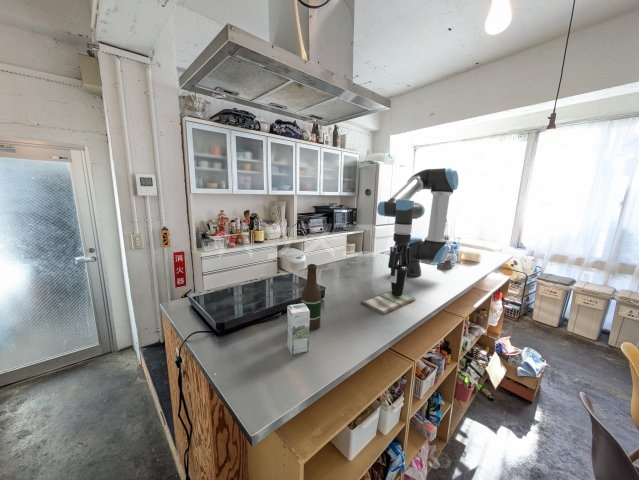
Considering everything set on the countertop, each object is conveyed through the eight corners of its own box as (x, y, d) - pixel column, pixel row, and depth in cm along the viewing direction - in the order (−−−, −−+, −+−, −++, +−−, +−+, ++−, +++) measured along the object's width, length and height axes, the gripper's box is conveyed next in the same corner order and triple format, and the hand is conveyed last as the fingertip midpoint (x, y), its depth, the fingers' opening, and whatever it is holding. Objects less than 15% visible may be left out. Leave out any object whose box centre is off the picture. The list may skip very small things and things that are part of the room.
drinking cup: (401, 299, 116) (405, 257, 112) (386, 294, 121) (389, 254, 116) (407, 293, 122) (410, 253, 118) (392, 289, 126) (395, 251, 122)
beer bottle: (298, 322, 98) (298, 262, 93) (316, 319, 101) (318, 261, 96) (303, 332, 91) (304, 268, 86) (323, 329, 93) (326, 267, 89)
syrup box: (303, 342, 85) (303, 302, 82) (309, 352, 80) (310, 309, 77) (286, 345, 83) (286, 304, 80) (291, 356, 78) (292, 312, 75)
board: (392, 292, 130) (392, 289, 130) (415, 300, 120) (415, 298, 120) (361, 303, 115) (361, 301, 115) (384, 315, 106) (384, 312, 105)
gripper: (407, 230, 125) (403, 274, 129) (382, 233, 112) (378, 282, 117) (421, 232, 119) (416, 278, 123) (396, 236, 106) (392, 287, 111)
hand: (398, 280), depth 120 cm, fingers closed on drinking cup, 7 cm apart
